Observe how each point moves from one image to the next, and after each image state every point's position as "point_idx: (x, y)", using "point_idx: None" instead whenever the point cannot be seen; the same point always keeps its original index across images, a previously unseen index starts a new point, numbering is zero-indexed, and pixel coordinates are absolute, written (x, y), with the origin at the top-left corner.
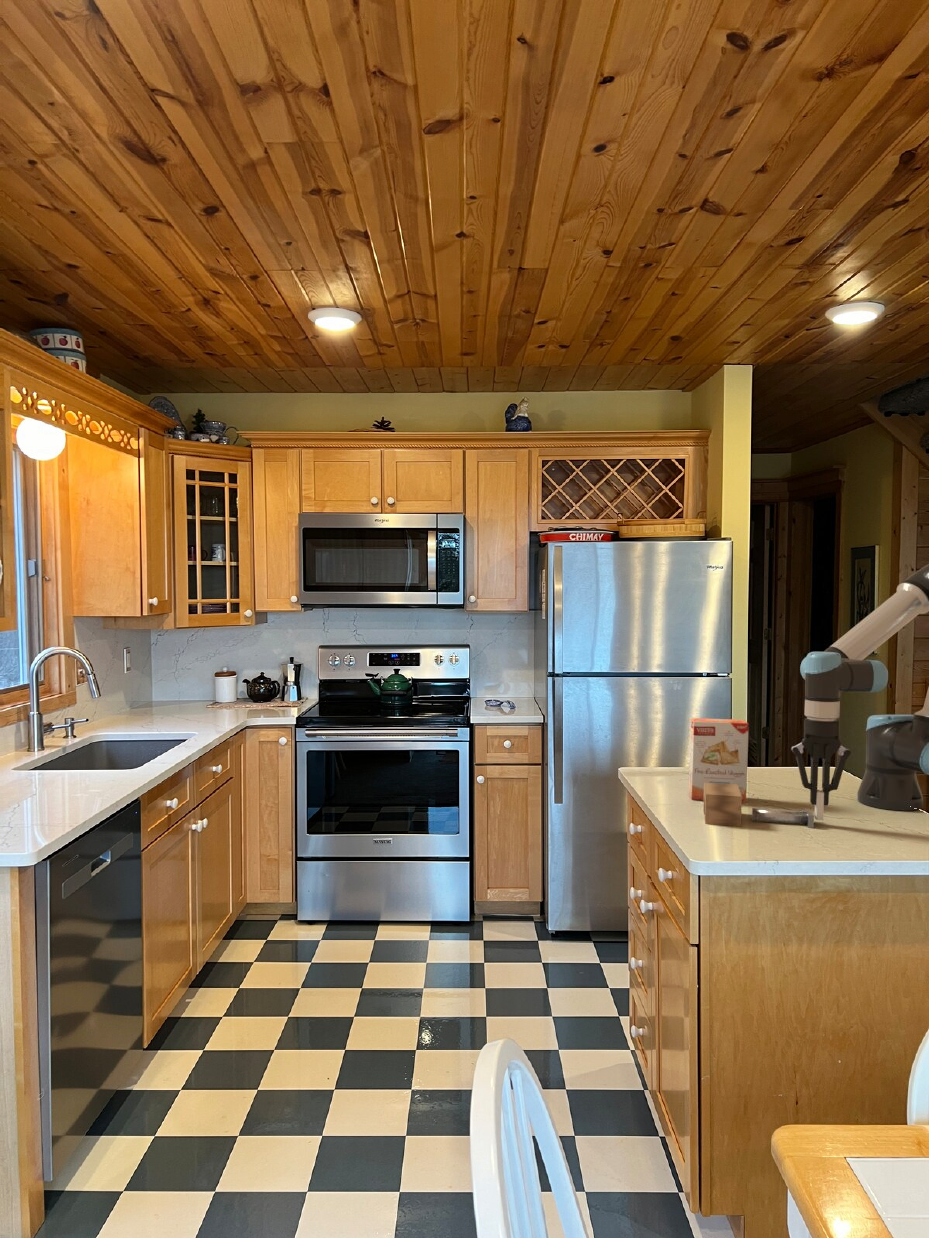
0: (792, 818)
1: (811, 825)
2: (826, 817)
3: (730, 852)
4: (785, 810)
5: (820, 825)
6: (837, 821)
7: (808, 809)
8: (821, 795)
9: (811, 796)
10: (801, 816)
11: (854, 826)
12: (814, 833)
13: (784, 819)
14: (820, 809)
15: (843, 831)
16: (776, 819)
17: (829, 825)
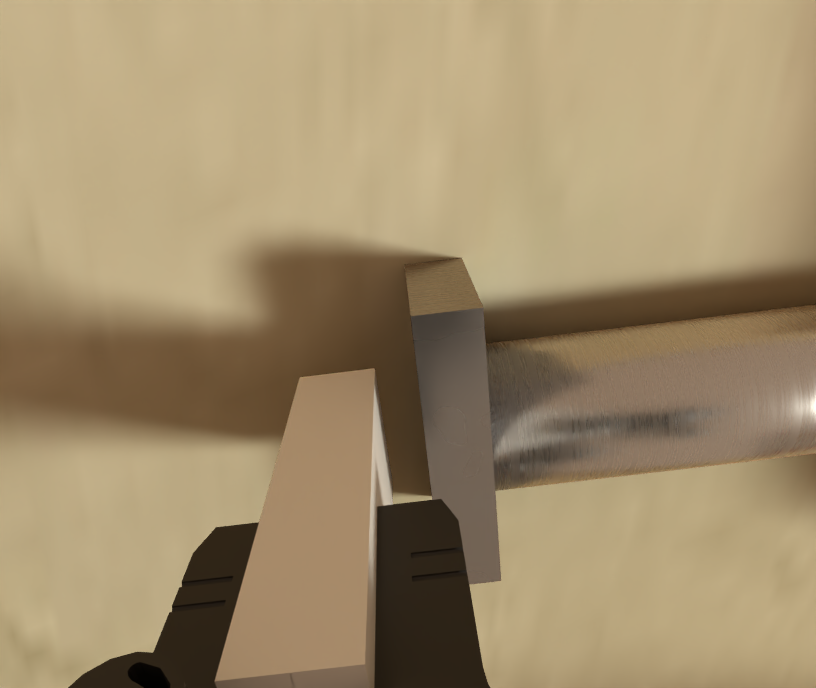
0: (639, 336)
1: (428, 271)
2: None
3: None
4: (741, 429)
5: None
6: None
7: None
8: (280, 616)
9: (467, 597)
10: (547, 365)
11: (25, 473)
12: (403, 20)
13: (720, 317)
14: (321, 442)
15: (94, 251)
16: (802, 307)
17: (250, 421)
